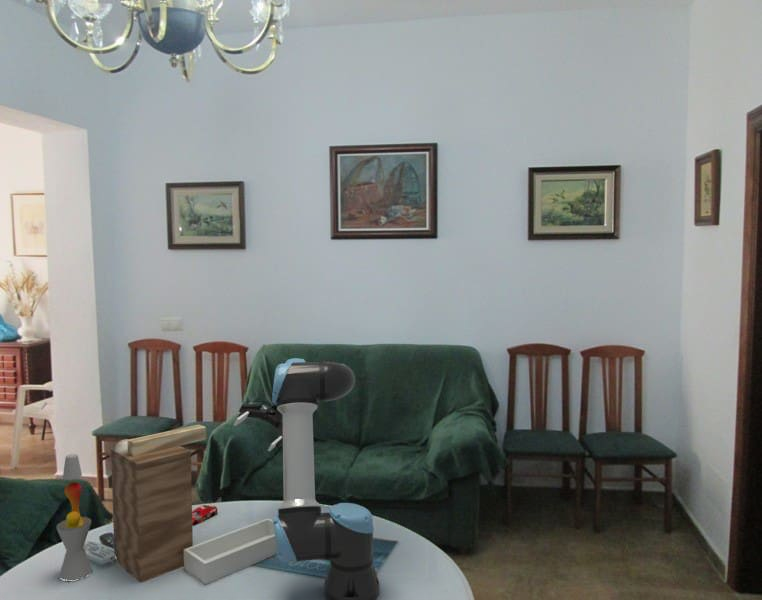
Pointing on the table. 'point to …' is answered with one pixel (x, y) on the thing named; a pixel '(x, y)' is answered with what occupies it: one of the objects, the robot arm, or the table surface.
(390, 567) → the table surface
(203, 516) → the race car
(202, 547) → the tray
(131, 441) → the wooden board
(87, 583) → the table surface
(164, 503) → the wooden block
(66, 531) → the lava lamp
